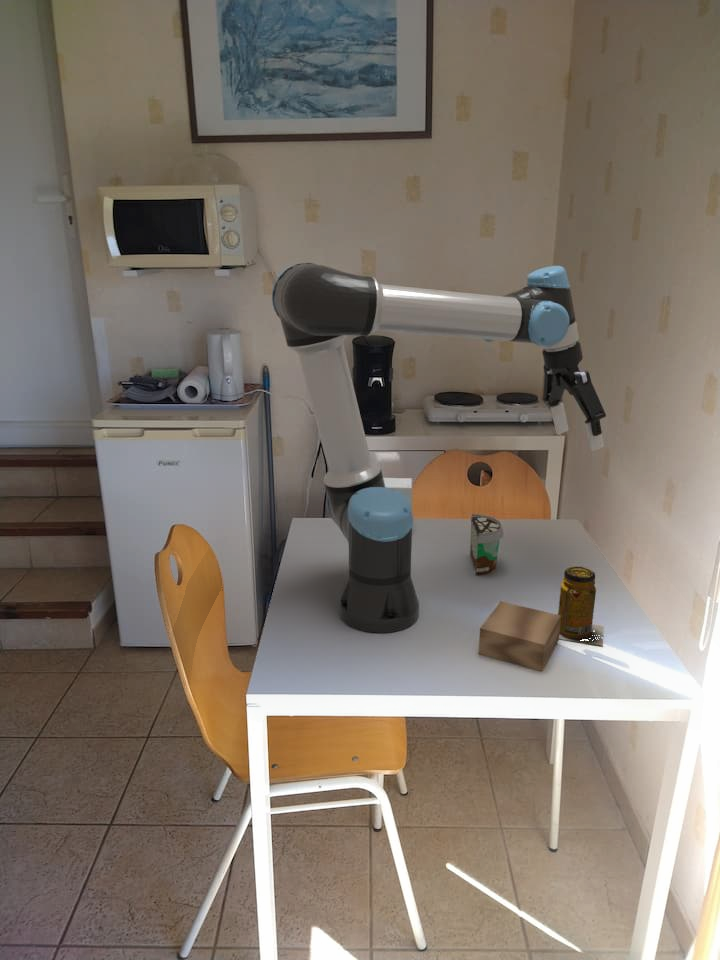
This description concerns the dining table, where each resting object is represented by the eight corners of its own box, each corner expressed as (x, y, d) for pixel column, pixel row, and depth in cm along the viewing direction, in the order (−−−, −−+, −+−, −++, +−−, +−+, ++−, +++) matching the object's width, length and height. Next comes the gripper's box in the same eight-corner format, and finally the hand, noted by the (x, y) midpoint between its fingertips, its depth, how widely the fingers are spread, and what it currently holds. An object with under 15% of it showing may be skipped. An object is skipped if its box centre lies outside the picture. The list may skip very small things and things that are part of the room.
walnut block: (478, 653, 123) (480, 628, 121) (498, 625, 132) (500, 601, 130) (542, 671, 118) (544, 644, 116) (558, 640, 127) (561, 615, 125)
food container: (505, 578, 150) (508, 534, 147) (476, 578, 150) (478, 534, 147) (496, 554, 162) (499, 513, 159) (469, 554, 162) (471, 513, 159)
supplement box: (411, 525, 178) (413, 477, 174) (411, 537, 171) (412, 487, 167) (382, 524, 179) (382, 476, 175) (380, 536, 172) (380, 486, 168)
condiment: (556, 619, 134) (562, 561, 130) (603, 627, 131) (611, 568, 127) (552, 638, 127) (558, 577, 124) (602, 647, 125) (610, 585, 121)
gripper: (613, 347, 133) (630, 449, 141) (545, 331, 156) (563, 420, 164) (577, 360, 132) (597, 463, 140) (515, 343, 155) (535, 432, 163)
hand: (579, 440), depth 152 cm, fingers open, 13 cm apart
